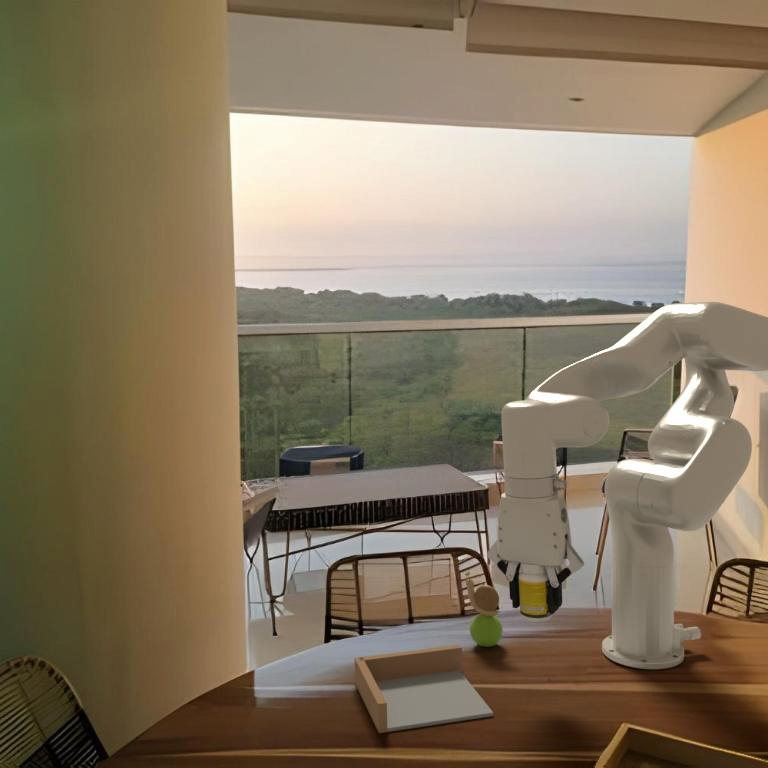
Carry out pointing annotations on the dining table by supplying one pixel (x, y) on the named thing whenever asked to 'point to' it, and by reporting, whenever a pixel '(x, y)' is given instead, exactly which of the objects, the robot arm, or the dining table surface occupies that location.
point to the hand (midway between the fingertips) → (536, 606)
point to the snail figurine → (484, 614)
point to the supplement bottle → (534, 593)
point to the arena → (417, 689)
